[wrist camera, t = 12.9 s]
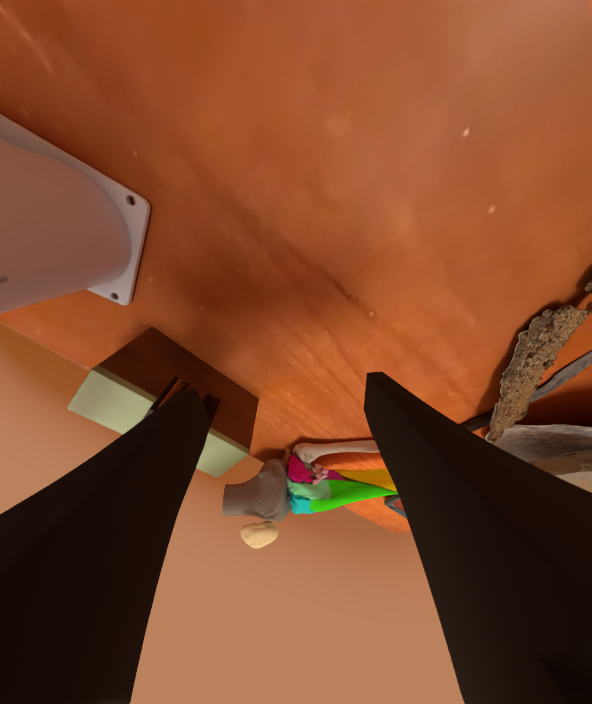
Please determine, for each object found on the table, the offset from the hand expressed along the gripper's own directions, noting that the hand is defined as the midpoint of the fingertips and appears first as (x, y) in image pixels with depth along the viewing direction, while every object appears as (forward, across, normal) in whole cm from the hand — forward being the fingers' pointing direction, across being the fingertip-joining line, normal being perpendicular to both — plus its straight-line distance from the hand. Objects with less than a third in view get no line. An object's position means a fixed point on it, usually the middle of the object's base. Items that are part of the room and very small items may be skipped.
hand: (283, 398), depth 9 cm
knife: (+10, -24, +10) cm, 28 cm away
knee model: (+6, -4, +23) cm, 24 cm away
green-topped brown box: (+10, +10, +6) cm, 15 cm away
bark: (+8, -25, +6) cm, 27 cm away
